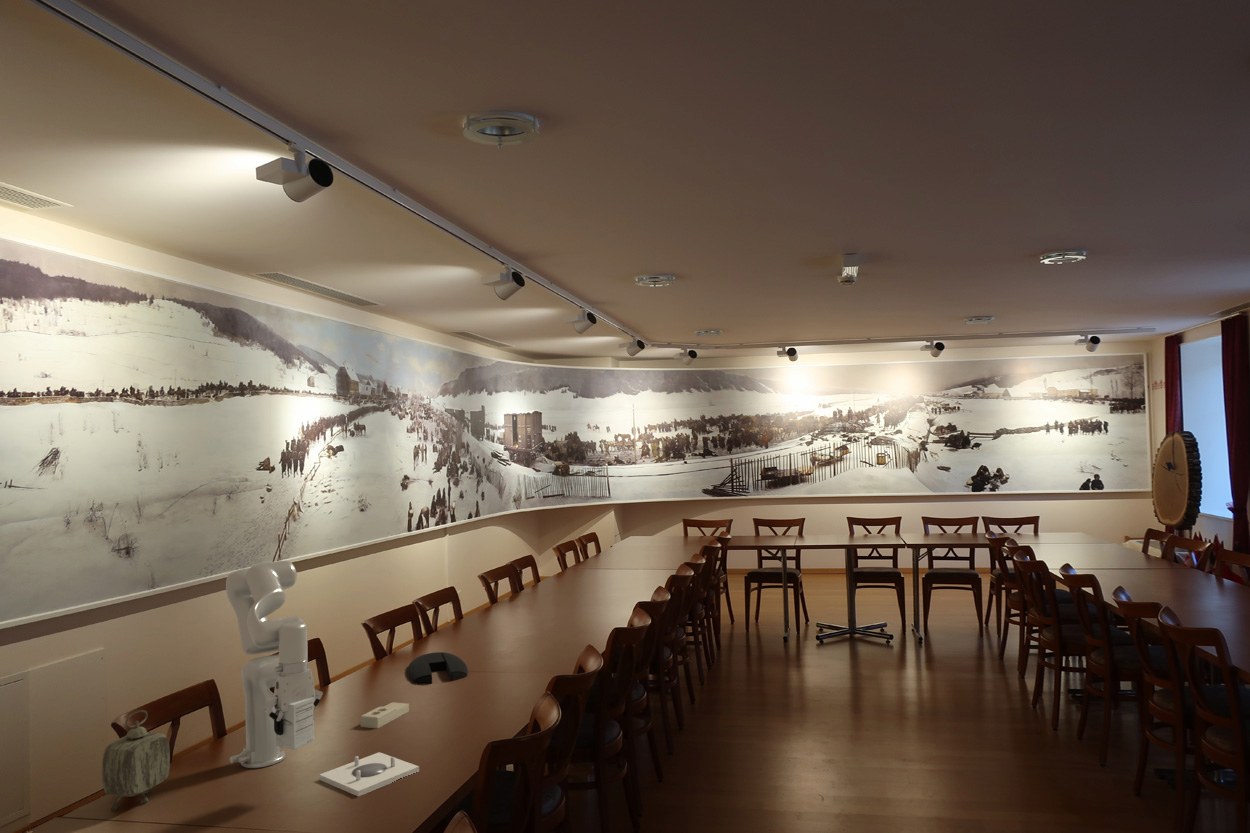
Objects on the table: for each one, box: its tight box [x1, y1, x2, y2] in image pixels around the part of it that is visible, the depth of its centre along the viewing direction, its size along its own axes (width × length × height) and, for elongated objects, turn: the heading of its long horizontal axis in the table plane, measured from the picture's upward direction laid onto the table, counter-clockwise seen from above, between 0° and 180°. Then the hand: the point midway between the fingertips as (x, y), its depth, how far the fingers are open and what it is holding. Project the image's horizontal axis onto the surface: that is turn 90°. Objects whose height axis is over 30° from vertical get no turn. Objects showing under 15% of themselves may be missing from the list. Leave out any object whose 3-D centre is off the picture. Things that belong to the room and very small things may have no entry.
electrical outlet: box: [360, 702, 410, 729], centre depth 282 cm, size 7×4×18 cm
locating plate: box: [318, 752, 420, 797], centre depth 232 cm, size 20×20×4 cm
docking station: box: [406, 651, 469, 685], centre depth 343 cm, size 25×40×5 cm, turn 19°
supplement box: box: [276, 698, 315, 751], centre depth 224 cm, size 7×7×13 cm
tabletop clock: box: [101, 709, 171, 811], centre depth 220 cm, size 14×9×25 cm, turn 163°
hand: (294, 728), depth 224 cm, fingers closed on supplement box, 8 cm apart
